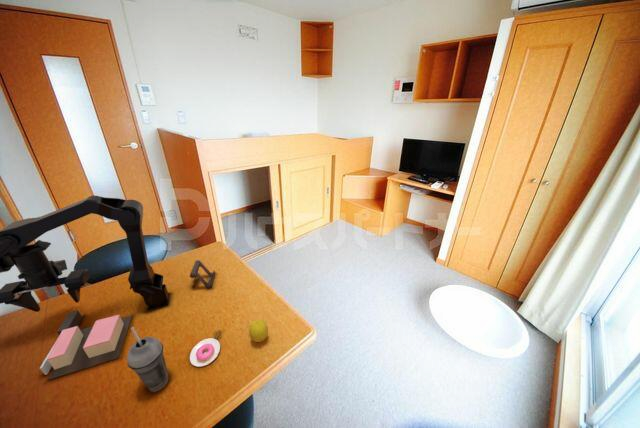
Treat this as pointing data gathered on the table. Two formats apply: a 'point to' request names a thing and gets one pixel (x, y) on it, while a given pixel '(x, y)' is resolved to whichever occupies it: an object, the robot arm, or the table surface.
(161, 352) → the beverage cup
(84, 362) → the cake board
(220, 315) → the table surface
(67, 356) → the cake slice
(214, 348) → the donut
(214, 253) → the table surface
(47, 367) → the knife
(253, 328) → the lemon
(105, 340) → the cake
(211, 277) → the tablet stand
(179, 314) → the table surface
